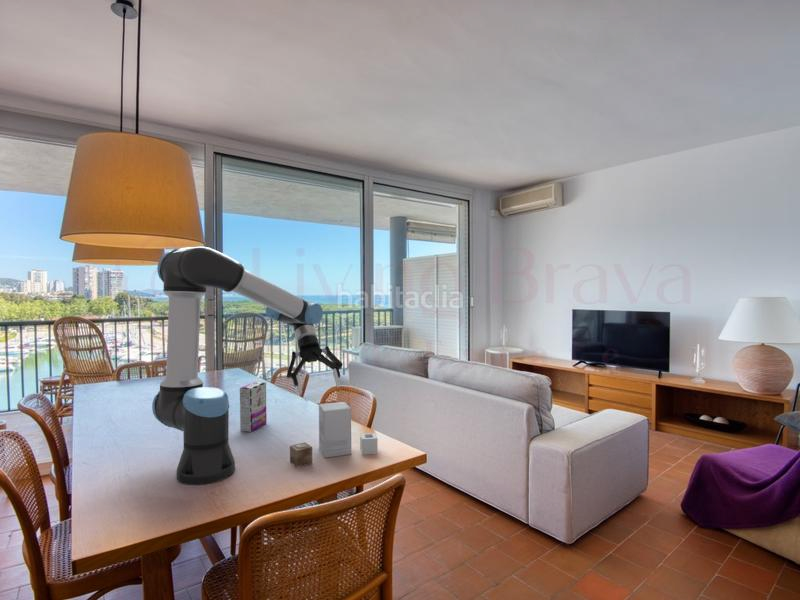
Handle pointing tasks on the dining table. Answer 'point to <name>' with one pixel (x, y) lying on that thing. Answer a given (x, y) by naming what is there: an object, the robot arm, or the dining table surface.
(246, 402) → the candy bar box
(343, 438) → the supplement box
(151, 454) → the dining table surface
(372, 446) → the pale grey block
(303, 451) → the walnut block
